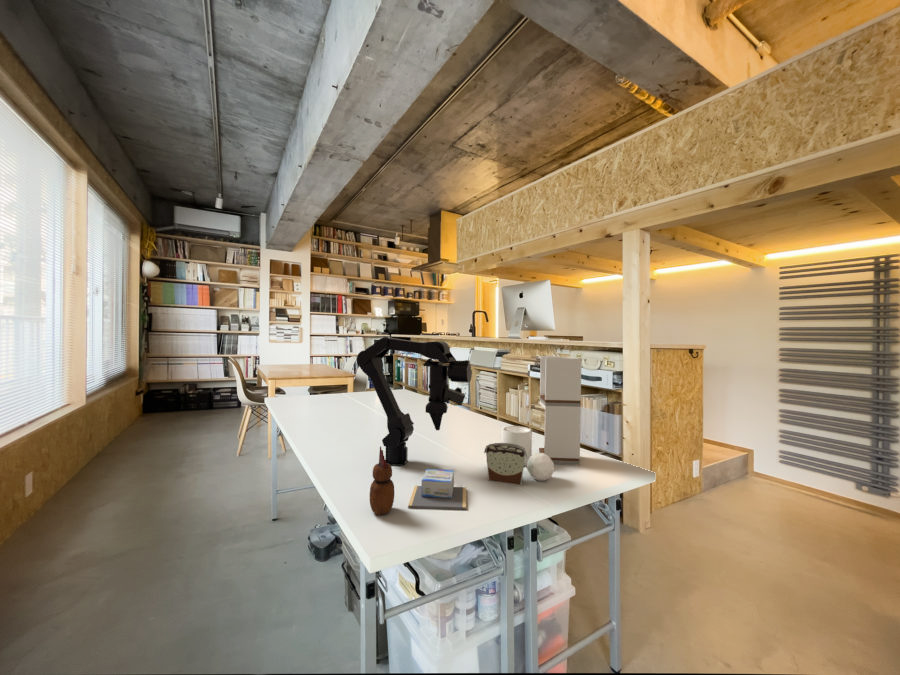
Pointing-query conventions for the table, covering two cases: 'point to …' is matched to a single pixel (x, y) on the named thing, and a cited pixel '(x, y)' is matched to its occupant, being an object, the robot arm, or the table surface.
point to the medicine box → (437, 483)
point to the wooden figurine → (382, 487)
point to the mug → (518, 438)
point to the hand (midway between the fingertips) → (437, 430)
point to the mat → (439, 500)
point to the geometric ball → (540, 466)
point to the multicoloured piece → (505, 463)
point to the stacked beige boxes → (561, 408)
